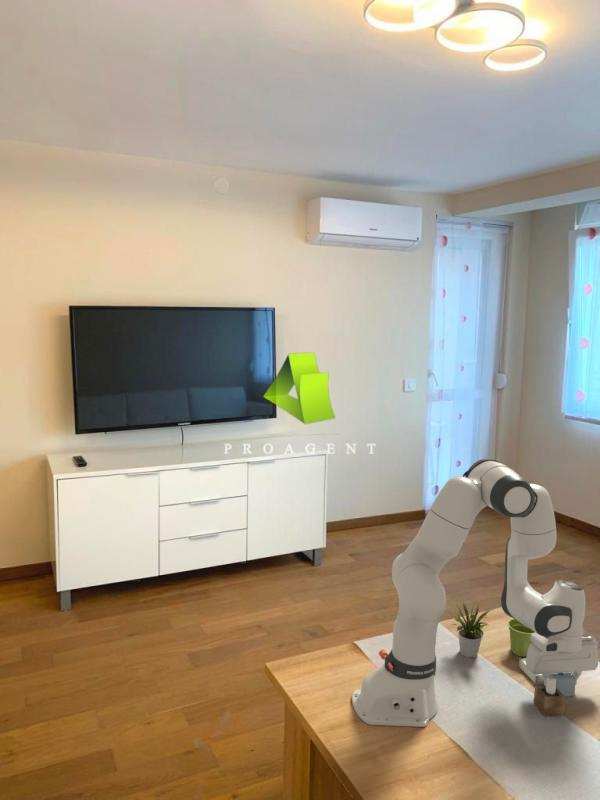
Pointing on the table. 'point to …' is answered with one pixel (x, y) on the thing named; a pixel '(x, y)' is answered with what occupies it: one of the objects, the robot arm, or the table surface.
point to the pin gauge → (550, 686)
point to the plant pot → (519, 637)
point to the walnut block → (549, 702)
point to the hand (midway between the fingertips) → (560, 685)
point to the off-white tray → (534, 678)
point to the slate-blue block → (565, 683)
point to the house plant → (470, 631)
